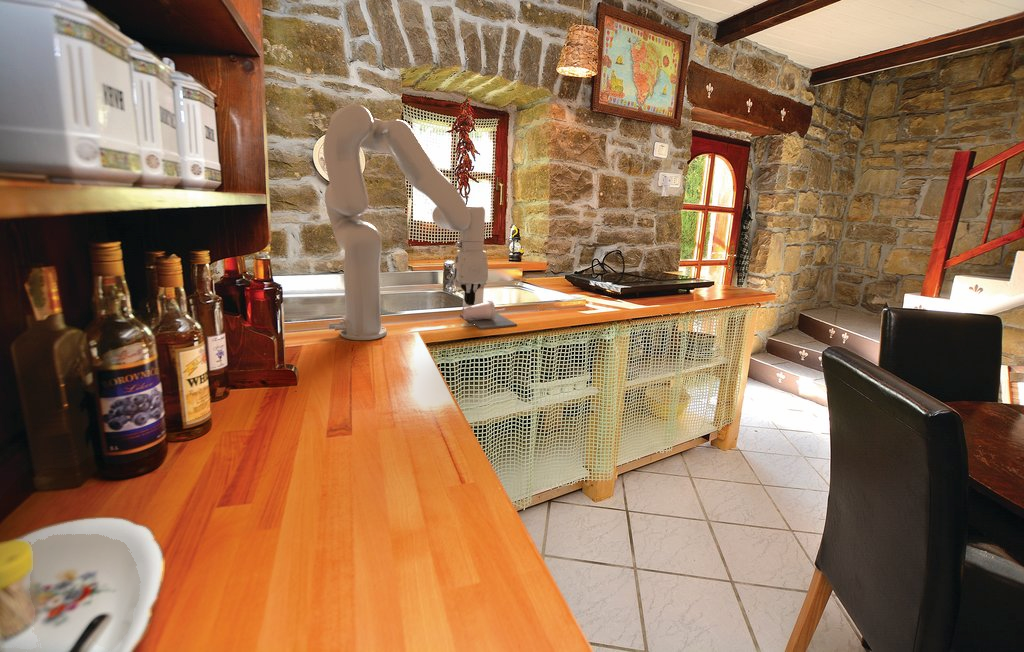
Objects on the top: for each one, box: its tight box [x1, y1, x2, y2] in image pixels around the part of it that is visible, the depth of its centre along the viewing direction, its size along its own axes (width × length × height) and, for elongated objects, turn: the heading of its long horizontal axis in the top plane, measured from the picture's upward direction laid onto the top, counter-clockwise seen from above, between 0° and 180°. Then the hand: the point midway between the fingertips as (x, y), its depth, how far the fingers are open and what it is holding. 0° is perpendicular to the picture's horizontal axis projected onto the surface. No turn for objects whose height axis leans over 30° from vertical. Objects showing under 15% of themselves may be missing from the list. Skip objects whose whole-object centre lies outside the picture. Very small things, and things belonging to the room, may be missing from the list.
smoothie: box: [461, 300, 506, 320], centre depth 156 cm, size 6×6×14 cm
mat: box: [459, 312, 518, 330], centre depth 158 cm, size 13×16×1 cm
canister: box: [462, 284, 485, 309], centre depth 168 cm, size 7×7×10 cm
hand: (469, 304), depth 153 cm, fingers closed
